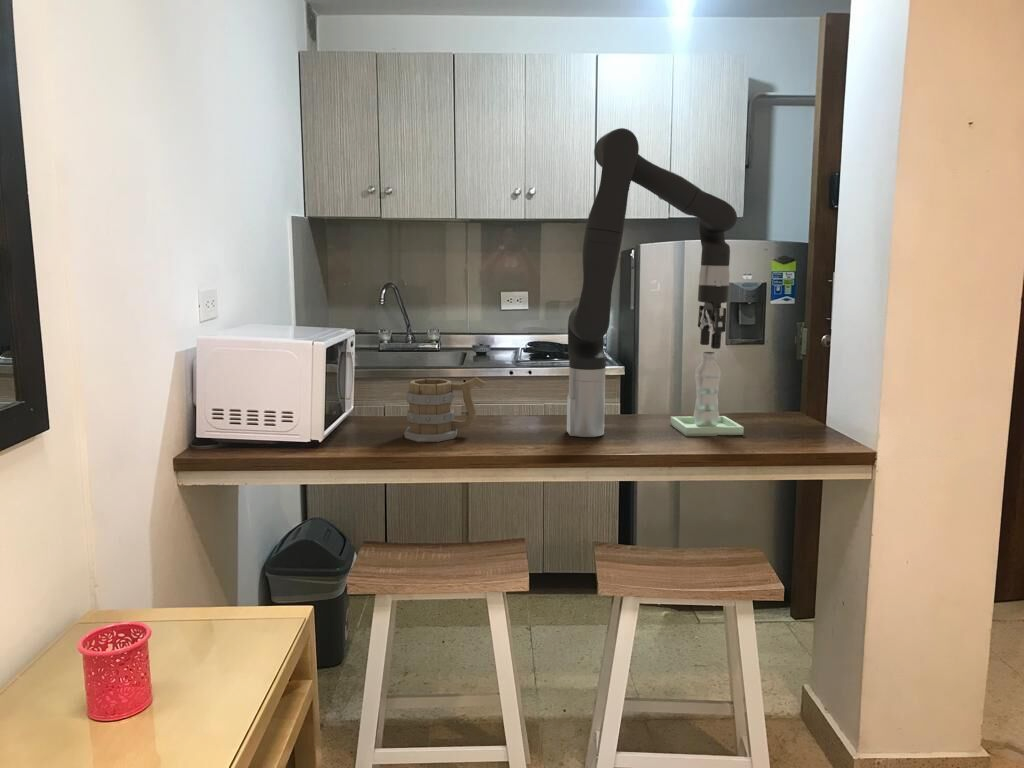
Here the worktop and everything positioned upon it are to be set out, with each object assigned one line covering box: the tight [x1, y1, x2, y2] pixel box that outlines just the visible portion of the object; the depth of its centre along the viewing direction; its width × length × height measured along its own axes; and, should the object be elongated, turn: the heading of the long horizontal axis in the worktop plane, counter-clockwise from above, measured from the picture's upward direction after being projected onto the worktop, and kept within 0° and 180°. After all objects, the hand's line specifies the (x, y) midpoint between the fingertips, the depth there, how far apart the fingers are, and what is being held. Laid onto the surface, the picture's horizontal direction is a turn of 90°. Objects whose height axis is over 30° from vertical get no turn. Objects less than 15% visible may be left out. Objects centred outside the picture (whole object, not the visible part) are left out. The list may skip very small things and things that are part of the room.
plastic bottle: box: [693, 351, 722, 427], centre depth 193 cm, size 6×7×20 cm
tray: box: [670, 415, 745, 437], centre depth 194 cm, size 15×14×2 cm
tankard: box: [404, 376, 486, 443], centre depth 185 cm, size 20×13×15 cm, turn 89°
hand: (709, 346), depth 191 cm, fingers open, 8 cm apart
